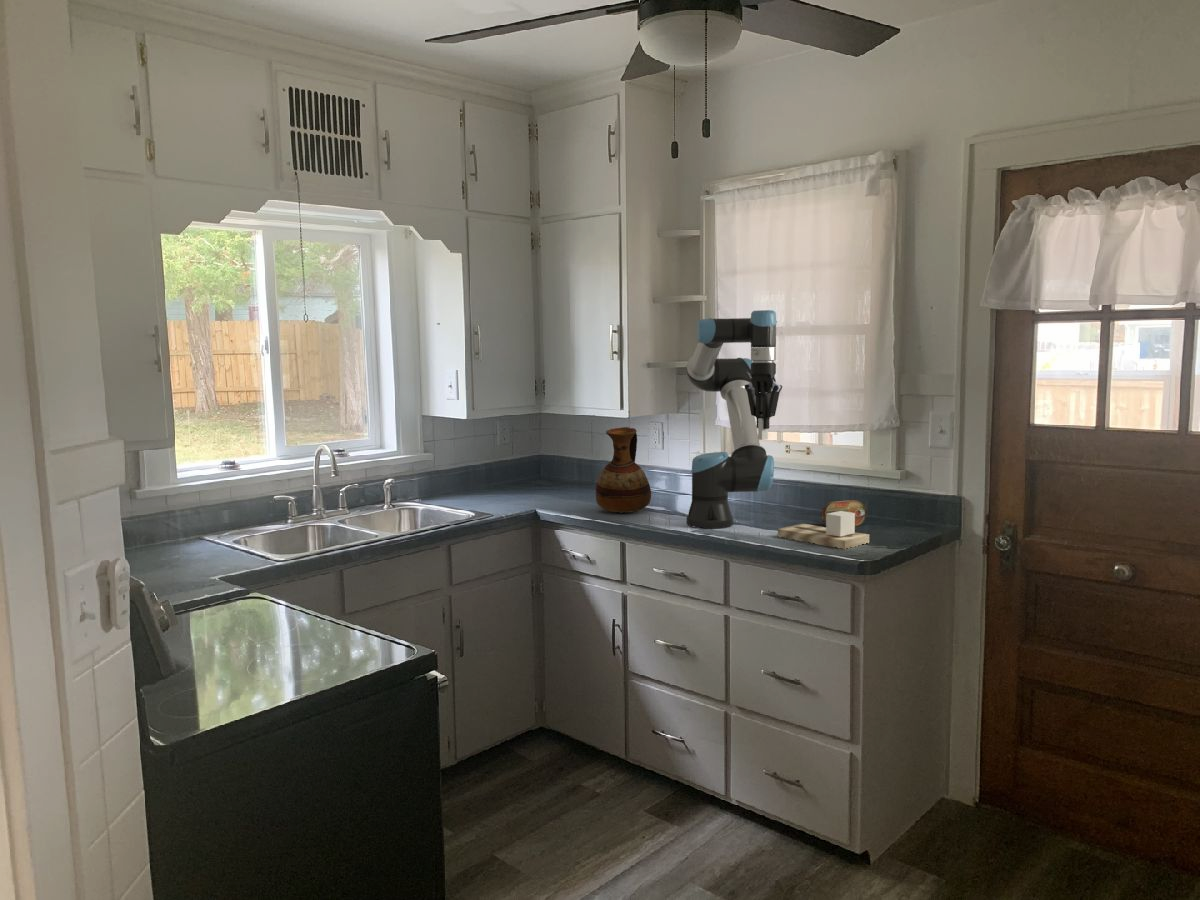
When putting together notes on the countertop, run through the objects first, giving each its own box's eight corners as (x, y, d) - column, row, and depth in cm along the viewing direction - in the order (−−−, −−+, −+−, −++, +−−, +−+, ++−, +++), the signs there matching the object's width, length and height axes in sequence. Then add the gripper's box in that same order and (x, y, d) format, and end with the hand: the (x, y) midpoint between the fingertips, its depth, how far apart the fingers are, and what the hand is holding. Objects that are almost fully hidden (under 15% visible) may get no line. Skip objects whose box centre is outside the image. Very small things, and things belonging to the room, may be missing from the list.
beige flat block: (777, 536, 281) (777, 528, 280) (802, 531, 288) (802, 523, 288) (844, 549, 263) (845, 540, 262) (869, 543, 270) (869, 534, 270)
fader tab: (825, 534, 270) (826, 513, 269) (840, 530, 275) (840, 510, 274) (840, 536, 266) (840, 516, 266) (854, 533, 271) (854, 513, 270)
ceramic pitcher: (588, 514, 323) (587, 429, 320) (605, 505, 342) (604, 424, 339) (642, 516, 317) (642, 430, 314) (656, 507, 336) (656, 425, 333)
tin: (825, 529, 292) (825, 502, 291) (820, 527, 295) (820, 501, 294) (866, 525, 296) (867, 499, 295) (861, 524, 299) (861, 498, 298)
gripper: (738, 362, 282) (738, 439, 284) (772, 362, 272) (771, 441, 275) (754, 361, 287) (754, 437, 289) (788, 361, 277) (787, 439, 279)
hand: (762, 439), depth 282 cm, fingers closed
